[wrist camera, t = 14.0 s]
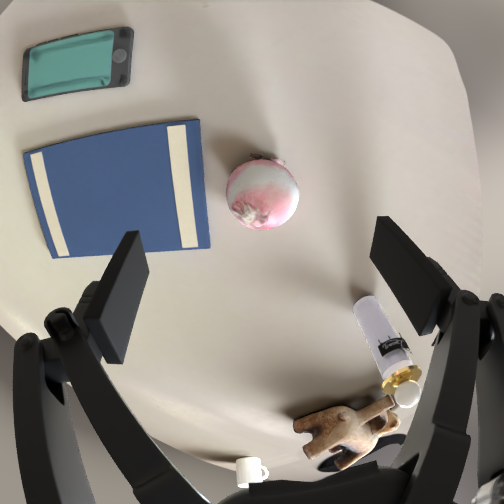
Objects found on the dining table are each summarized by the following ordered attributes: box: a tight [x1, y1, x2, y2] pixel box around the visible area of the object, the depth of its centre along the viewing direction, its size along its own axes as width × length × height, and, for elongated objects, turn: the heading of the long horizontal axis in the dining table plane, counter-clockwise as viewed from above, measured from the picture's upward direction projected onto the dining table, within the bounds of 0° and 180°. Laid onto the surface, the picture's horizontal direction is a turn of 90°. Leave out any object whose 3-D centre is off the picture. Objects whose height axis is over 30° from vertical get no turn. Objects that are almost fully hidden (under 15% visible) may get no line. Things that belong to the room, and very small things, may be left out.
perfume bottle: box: [353, 296, 422, 408], centre depth 38 cm, size 6×6×20 cm
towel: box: [23, 119, 210, 259], centre depth 33 cm, size 24×16×1 cm, turn 92°
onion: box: [226, 153, 299, 230], centre depth 31 cm, size 8×8×7 cm
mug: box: [236, 457, 269, 487], centre depth 78 cm, size 8×12×10 cm
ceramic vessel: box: [293, 394, 401, 471], centre depth 64 cm, size 13×31×25 cm
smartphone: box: [22, 27, 134, 102], centre depth 24 cm, size 7×1×15 cm
